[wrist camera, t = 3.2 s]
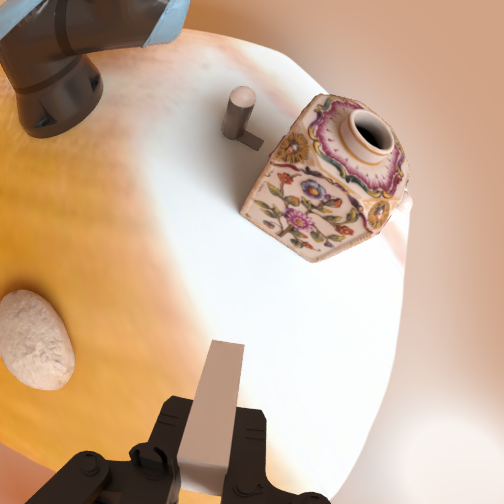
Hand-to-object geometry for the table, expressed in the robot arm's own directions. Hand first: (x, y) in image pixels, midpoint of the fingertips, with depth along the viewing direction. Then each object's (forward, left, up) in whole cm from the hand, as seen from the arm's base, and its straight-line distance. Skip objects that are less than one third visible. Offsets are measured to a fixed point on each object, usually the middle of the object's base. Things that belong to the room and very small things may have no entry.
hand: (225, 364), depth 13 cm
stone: (-15, -15, -19) cm, 28 cm away
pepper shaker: (-15, +24, -19) cm, 33 cm away
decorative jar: (-1, +20, -19) cm, 28 cm away
